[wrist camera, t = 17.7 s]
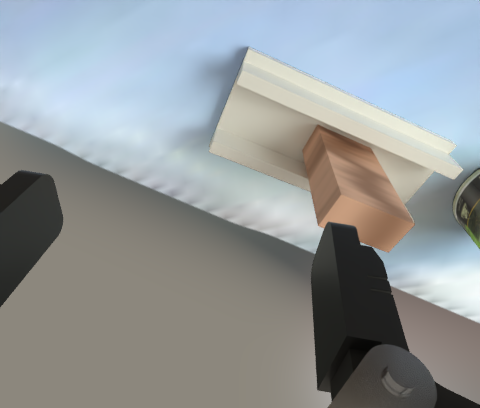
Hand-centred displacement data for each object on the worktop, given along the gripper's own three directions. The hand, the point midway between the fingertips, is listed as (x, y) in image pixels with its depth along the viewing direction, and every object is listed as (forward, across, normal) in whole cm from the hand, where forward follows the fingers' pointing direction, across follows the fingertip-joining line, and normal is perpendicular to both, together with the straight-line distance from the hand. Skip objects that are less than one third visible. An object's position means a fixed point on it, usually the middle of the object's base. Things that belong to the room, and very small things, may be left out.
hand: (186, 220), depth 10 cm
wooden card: (+24, -9, +9) cm, 27 cm away
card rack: (+25, -9, +8) cm, 28 cm away
